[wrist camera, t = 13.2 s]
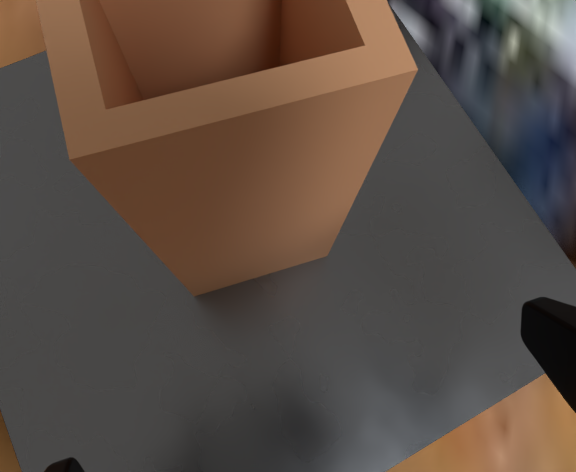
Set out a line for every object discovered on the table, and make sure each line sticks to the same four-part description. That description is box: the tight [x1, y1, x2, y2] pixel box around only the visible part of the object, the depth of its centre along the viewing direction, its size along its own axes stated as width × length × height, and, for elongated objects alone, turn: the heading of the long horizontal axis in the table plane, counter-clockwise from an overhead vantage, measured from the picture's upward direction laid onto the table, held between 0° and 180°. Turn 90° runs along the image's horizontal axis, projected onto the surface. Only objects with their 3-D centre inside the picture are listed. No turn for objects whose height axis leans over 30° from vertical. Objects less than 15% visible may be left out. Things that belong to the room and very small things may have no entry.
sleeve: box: [36, 0, 418, 296], centre depth 12 cm, size 5×5×11 cm
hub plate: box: [0, 3, 576, 472], centre depth 16 cm, size 20×20×6 cm
